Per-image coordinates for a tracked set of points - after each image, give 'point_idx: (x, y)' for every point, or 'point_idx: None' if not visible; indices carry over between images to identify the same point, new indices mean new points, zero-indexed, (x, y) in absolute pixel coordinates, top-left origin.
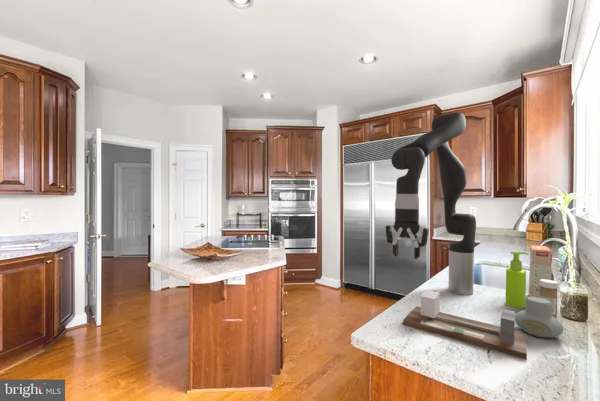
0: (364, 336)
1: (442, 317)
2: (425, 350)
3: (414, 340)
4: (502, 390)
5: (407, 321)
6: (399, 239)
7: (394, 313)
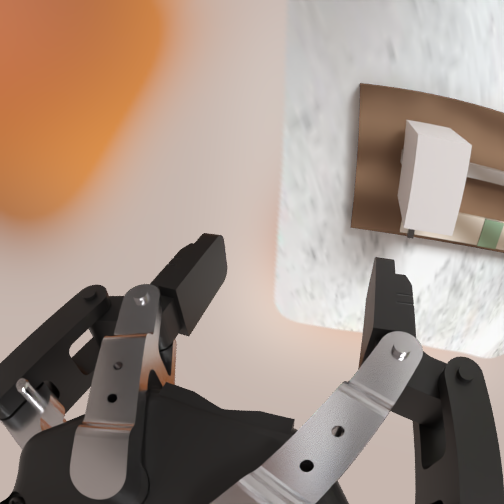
0: (291, 312)
1: None
2: None
3: None
4: (493, 353)
5: (363, 228)
6: (157, 347)
7: (305, 152)
